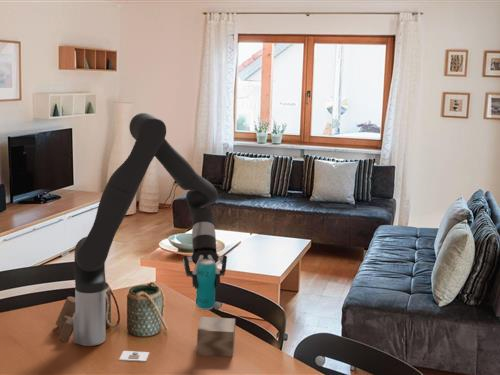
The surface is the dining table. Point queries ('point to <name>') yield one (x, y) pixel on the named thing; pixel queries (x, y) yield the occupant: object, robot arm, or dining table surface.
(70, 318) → the wooden block set
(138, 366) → the dining table surface
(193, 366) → the dining table surface
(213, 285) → the beverage can
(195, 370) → the dining table surface
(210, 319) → the walnut base brick
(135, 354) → the tower plan card
